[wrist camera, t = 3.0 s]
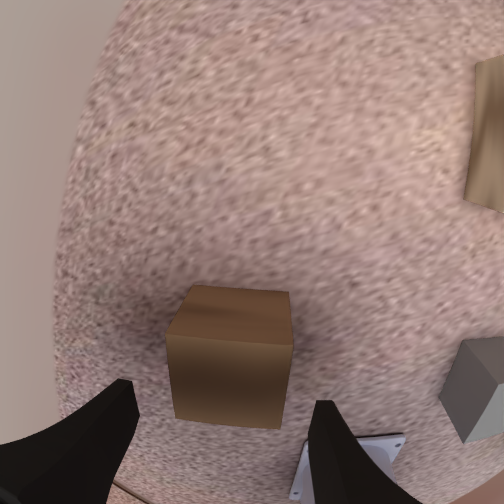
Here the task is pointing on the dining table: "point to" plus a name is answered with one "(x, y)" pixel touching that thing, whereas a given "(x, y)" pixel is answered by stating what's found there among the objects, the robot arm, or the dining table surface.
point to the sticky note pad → (487, 137)
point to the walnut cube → (230, 356)
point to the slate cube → (476, 389)
